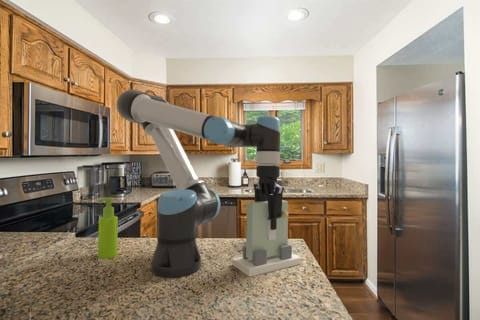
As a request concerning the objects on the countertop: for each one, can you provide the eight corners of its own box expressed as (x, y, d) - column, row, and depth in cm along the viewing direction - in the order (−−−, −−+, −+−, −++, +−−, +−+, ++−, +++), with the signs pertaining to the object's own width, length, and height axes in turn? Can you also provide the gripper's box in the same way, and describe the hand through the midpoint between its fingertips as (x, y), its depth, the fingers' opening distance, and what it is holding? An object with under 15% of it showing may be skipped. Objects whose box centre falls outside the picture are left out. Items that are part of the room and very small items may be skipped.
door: (254, 262, 79) (255, 204, 79) (245, 256, 83) (246, 202, 83) (290, 254, 86) (291, 201, 86) (280, 249, 90) (281, 199, 91)
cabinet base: (249, 276, 76) (249, 255, 76) (232, 265, 84) (232, 246, 85) (301, 263, 86) (301, 245, 86) (281, 254, 95) (281, 237, 95)
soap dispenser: (91, 258, 89) (92, 198, 89) (108, 251, 96) (109, 196, 96) (104, 260, 87) (105, 199, 87) (120, 254, 93) (121, 197, 94)
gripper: (294, 165, 80) (293, 243, 80) (262, 164, 95) (261, 230, 94) (275, 165, 77) (274, 246, 76) (244, 164, 91) (243, 233, 91)
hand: (267, 237), depth 85 cm, fingers open, 4 cm apart
